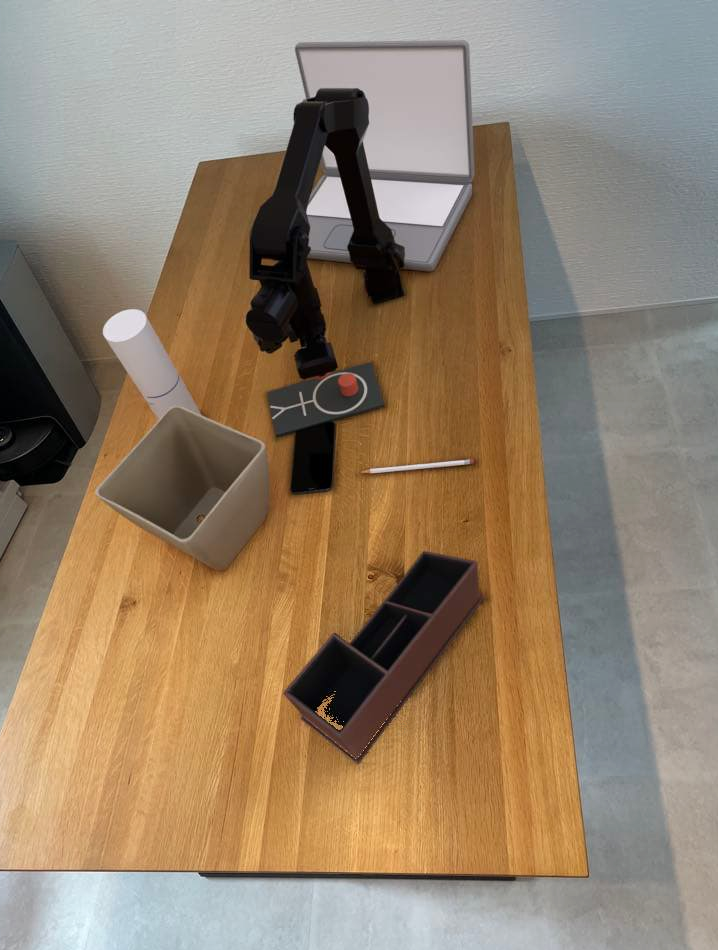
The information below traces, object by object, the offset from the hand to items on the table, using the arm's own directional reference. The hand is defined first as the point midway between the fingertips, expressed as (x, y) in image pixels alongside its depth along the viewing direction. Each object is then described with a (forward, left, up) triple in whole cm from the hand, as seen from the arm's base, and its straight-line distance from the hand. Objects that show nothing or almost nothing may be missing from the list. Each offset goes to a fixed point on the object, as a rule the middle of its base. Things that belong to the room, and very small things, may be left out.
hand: (320, 368), depth 117 cm
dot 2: (-4, 0, -7) cm, 8 cm away
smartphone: (+5, +12, -8) cm, 16 cm away
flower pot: (+23, +22, -8) cm, 33 cm away
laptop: (-19, -46, -8) cm, 51 cm away
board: (+1, 0, -8) cm, 8 cm away
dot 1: (0, 0, -1) cm, 1 cm away
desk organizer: (0, +52, -8) cm, 52 cm away
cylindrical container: (+27, -2, -8) cm, 28 cm away
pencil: (-11, +21, -8) cm, 25 cm away
